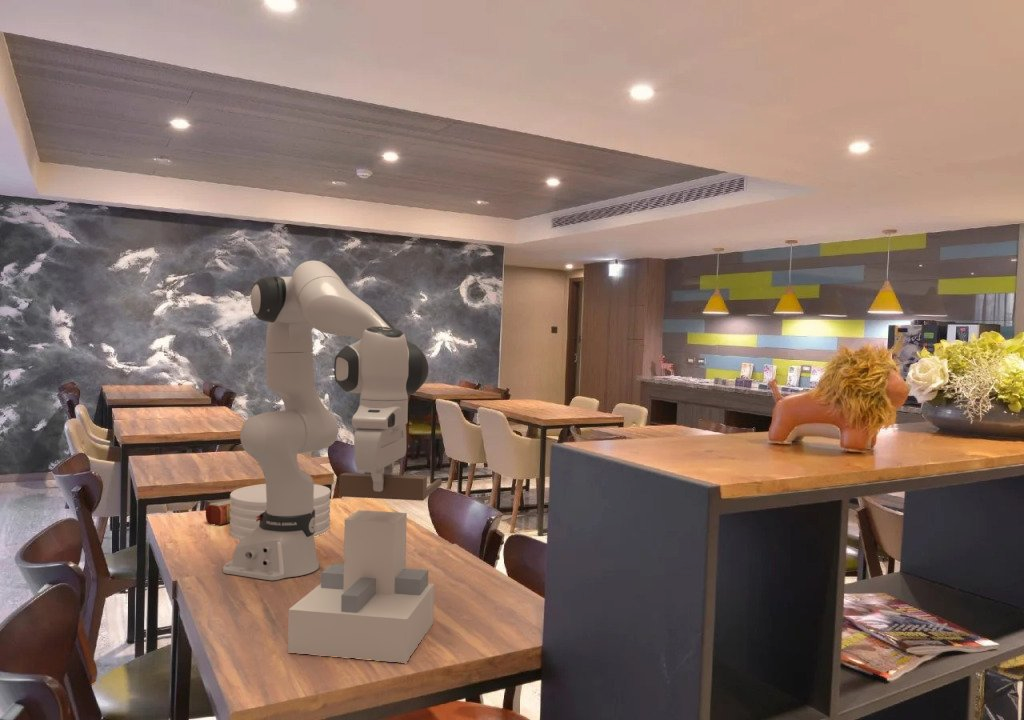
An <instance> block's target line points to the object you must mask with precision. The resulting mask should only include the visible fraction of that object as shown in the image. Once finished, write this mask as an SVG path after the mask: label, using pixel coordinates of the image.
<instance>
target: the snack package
mask: <svg viewBox="0 0 1024 720" xmlns="http://www.w3.org/2000/svg"><path fill="white" fill-rule="evenodd" d="M230 502H231V500H230V499H225V500H223V501H216V502H211V503H208V504H207V506H206V507H205V518H206V522H207V523H208V524H209V523H210V524H209V525H211V524H215V525H214V526H216V525H220V526H223V525H225V523H226V524H230V523H229V522H230V519H231V518H230V511H231V509H230ZM222 524H223V525H222Z"/></svg>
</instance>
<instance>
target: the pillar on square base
mask: <svg viewBox="0 0 1024 720" xmlns="http://www.w3.org/2000/svg"><path fill="white" fill-rule="evenodd" d="M407 516H408V515H407V512H397V511H395V512H394V511H380V510H379V511H378V510H363V509H362V510H361V509H359V510H357V511H356V512H354V513H352V514H351V515H350V516H348V517H346V518H345V519H344V533H343V534H344V539H343V540H344V541H343V563H331V565H329V566H327V568H325V569H324V570H323V571H321V572H320V584H318V585H317V586H316V587H315V588H313V589H312V590H311V591H310V592H308V593H307V594H306V595H304V596H303V597H302V598H301V599H300V600H299V601H297V602H296V603H295V604H293V606H291V607H289V609H288V622H287V623H288V624H287V625H288V626H287V627H288V629H287V631H288V633H287V635H288V636H287V640H288V641H287V653H288V652H291V653H303V654H316V655H323V656H324V655H325V656H337V657H347V658H361V659H371V660H379V661H389V662H390V661H391V662H401V663H406V662H407V661H408V659H409V658H410V656H411V655H412V653H413V652H414V650H415V649H416V647H417V646H418V644H419V643H420V642H421V643H422V641H423V640H424V638H425V637H424V636H426V635H427V634H428V632H429V630H430V629H431V627H432V625H433V624H434V614H435V613H434V609H435V608H434V606H435V605H434V604H435V602H434V601H435V584H434V583H429V570H427V569H417V568H416V569H415V568H407V566H406V564H407V563H406V561H407V519H408V517H407ZM425 634H426V635H425ZM423 637H424V638H423ZM422 639H423V640H422ZM421 640H422V641H421ZM421 643H420V644H421ZM420 644H419V645H420ZM418 647H419V646H418ZM418 647H417V648H418ZM416 650H417V649H416ZM416 650H415V651H416ZM414 653H415V652H414ZM414 653H413V654H414ZM412 656H413V655H412ZM412 656H411V657H412ZM410 659H411V658H410ZM410 659H409V660H410ZM408 662H409V661H408ZM408 662H407V663H408Z"/></svg>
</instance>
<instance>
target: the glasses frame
mask: <svg viewBox="0 0 1024 720" xmlns="http://www.w3.org/2000/svg"><path fill="white" fill-rule="evenodd" d="M338 477H339V478H338V479H339V483H338V497H343V498H361V499H364V498H365V499H382V500H384V499H385V500H399V501H419V502H423V501H425V500H426V499H427V498H428V497H429V496H430V495H431V494H432V493H434V492H435V491H436V490H437V489H438V488H439V487H441V486H442V478H437V479H436V480H434V481H433V482H432V483H430V484H429V485H427V482H428V481H427V480H428V476H426V475H424V476H422V475H404V474H403V475H402V474H392V475H385V474H383V477H384V481H385V489H384V490H383V491H381V492H379V491H374V490H373V480H372V476H371V473H364V472H357V473H356V472H343V473H340V474H339V475H338Z"/></svg>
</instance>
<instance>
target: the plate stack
mask: <svg viewBox="0 0 1024 720" xmlns="http://www.w3.org/2000/svg"><path fill="white" fill-rule="evenodd" d="M330 497H331V489H330V488H329V487H327V486H325V485H321V484H318V483H316V484H315V483H314V502H313V509H314V510H315V533H314V536H317V535H320V534H322V533H324V532H326V531H327V530H328V529H329V528H330V529H331V523H330V522H331V514H330V513H331V506H330V505H331V498H330ZM229 500H231V502H230V509H231V511H230V518H231V519H230V523H229V526H230V528H229V536H230V535H231V536H232V537H231V536H230V537H231V538H233V539H235V538H236V539H235V540H237V539H239V540H238V541H240V540H242V539H243V538H245V537H246V536H247V535H249V534H250V533H251V532H252V531H254V530H255V529H256V528H258V527H259V524H260V520H259V521H256V520H257V519H258V518H256V517H257V516H260V514H262V513H263V512H265V510H266V483H260V484H253V485H252V484H251V485H248V486H243V487H240V488H237V489H234V490H233V491H231V493H230V494H229Z"/></svg>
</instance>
